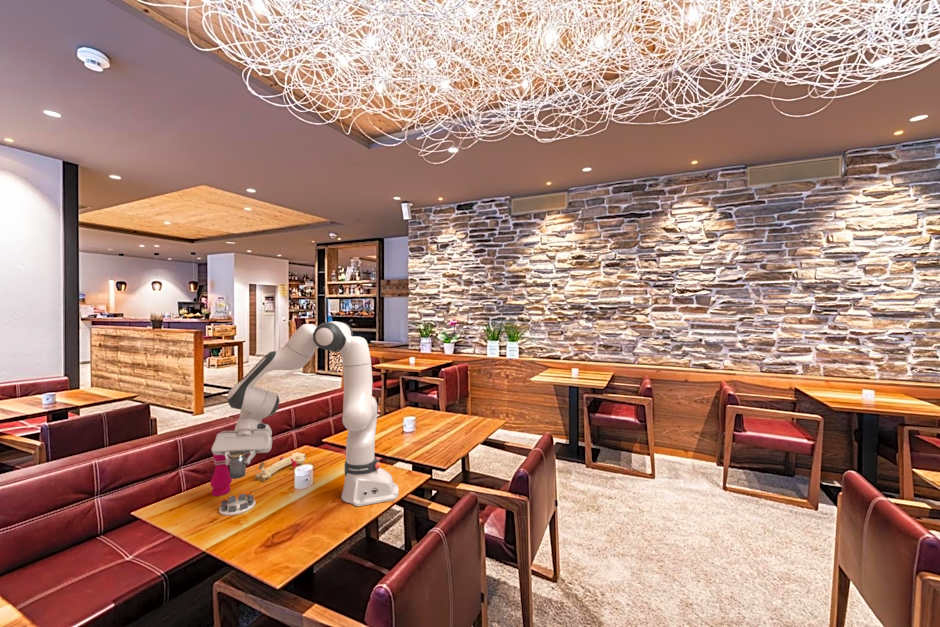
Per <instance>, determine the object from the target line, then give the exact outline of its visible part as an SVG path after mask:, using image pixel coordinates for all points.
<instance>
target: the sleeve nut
mask: <svg viewBox="0 0 940 627" xmlns="http://www.w3.org/2000/svg"><path fill="white" fill-rule="evenodd" d="M245 458H247V454H246V453H244V452H238V453H234V454H231V455H230V457H229V459H230V465H229V472H230V478H231V479H232V480H236V479H237V480H238V479H241V478H243V477H246V467H247V466H246V465H247V464H245V463H244V461H245Z"/></svg>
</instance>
